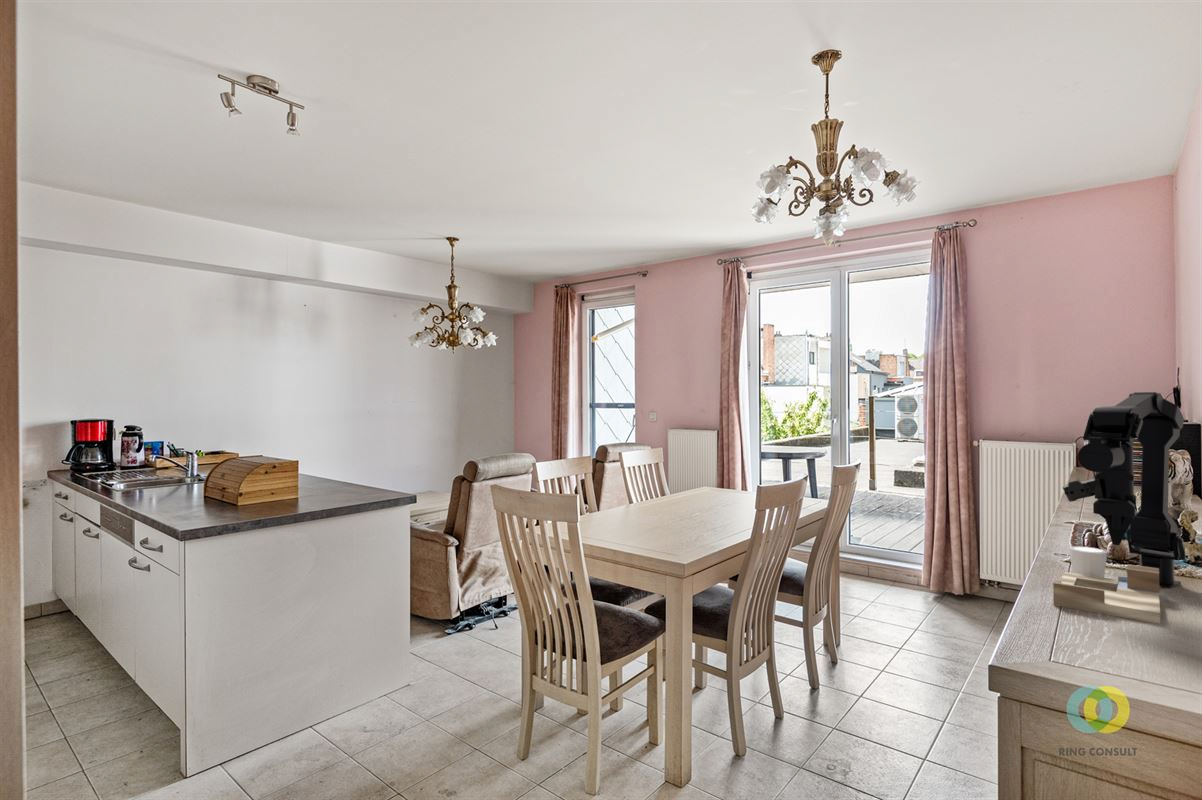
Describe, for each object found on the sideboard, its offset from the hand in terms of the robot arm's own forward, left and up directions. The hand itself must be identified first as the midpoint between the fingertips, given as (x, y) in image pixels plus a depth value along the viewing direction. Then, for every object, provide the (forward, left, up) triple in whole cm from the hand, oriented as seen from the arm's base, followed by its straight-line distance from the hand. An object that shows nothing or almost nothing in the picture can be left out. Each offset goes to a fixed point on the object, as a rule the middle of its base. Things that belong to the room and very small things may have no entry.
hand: (1115, 544), depth 125 cm
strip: (-9, 0, -12) cm, 15 cm away
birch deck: (-1, -2, -12) cm, 12 cm away
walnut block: (-10, +1, -10) cm, 14 cm away
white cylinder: (-14, -11, -12) cm, 22 cm away
